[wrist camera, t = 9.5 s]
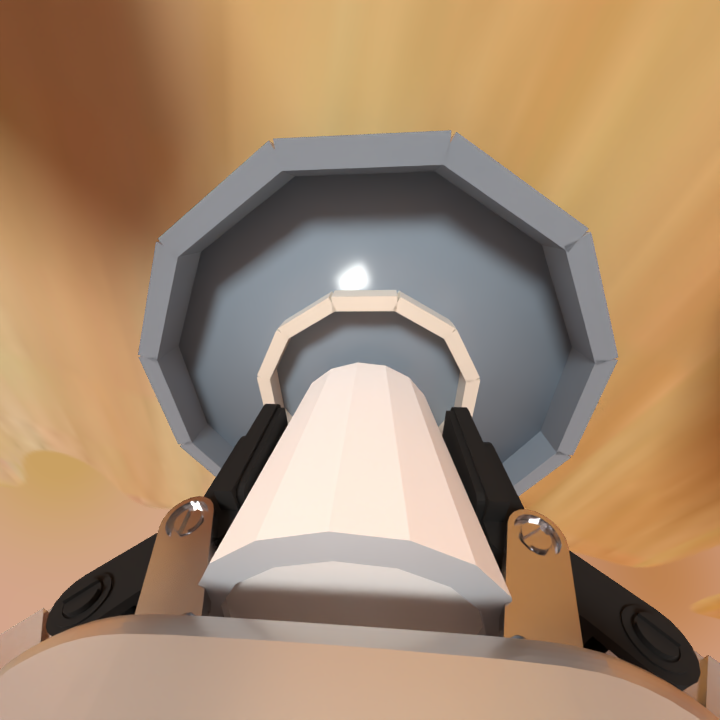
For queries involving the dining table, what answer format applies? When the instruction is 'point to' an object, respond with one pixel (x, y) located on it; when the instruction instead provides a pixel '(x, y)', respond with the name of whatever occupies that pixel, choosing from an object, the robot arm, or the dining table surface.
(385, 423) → the pale cup
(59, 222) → the dining table surface
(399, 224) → the round tray
